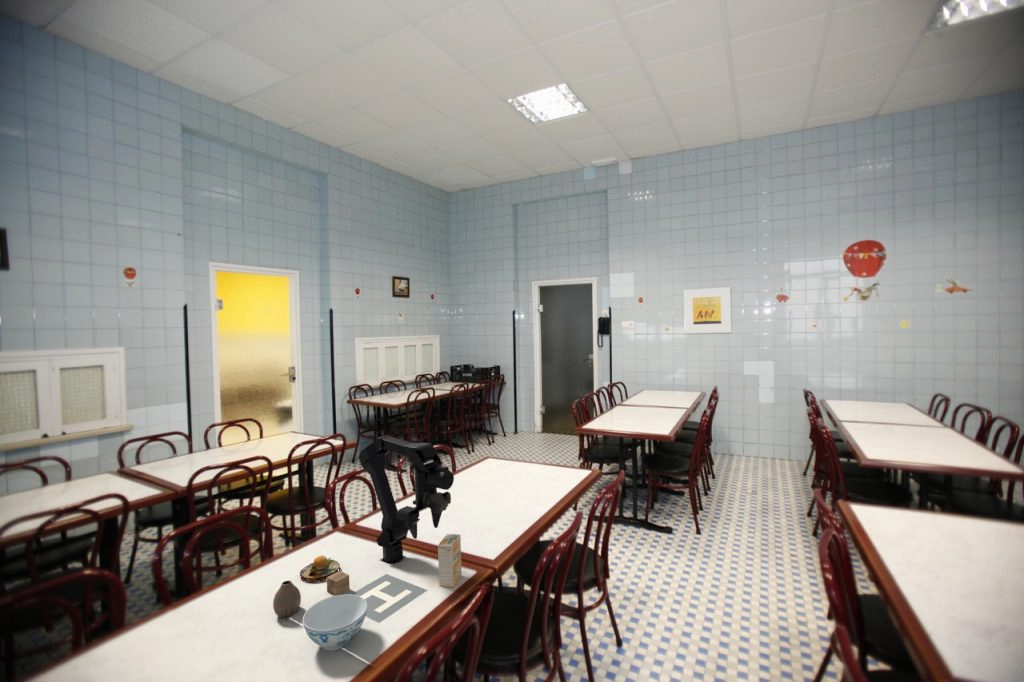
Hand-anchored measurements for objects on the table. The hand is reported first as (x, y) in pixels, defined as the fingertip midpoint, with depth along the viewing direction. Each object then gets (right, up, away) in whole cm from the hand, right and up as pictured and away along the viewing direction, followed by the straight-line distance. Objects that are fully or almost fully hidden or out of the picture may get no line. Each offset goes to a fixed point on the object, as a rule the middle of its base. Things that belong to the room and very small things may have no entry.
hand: (425, 532), depth 148 cm
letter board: (-10, -14, -13) cm, 21 cm away
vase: (-35, -15, -19) cm, 42 cm away
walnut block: (-24, -14, -9) cm, 30 cm away
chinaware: (-16, -14, -32) cm, 38 cm away
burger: (-35, -14, +2) cm, 38 cm away
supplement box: (+9, -13, -5) cm, 17 cm away
